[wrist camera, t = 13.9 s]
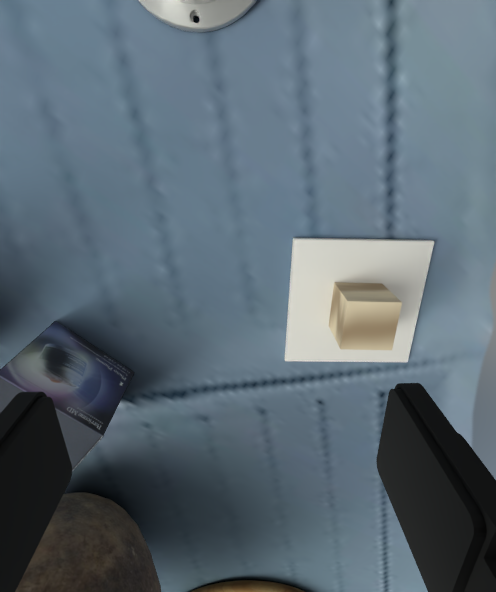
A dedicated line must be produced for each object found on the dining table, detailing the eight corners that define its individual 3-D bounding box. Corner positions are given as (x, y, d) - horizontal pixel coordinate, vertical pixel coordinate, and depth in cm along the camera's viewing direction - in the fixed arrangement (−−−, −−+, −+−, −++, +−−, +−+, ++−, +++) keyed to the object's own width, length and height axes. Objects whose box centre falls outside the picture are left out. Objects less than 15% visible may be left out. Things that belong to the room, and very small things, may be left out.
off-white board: (293, 237, 36) (293, 239, 35) (431, 240, 36) (434, 241, 35) (284, 358, 41) (285, 361, 40) (405, 359, 41) (407, 362, 41)
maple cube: (334, 282, 37) (347, 301, 32) (382, 283, 37) (402, 302, 32) (328, 325, 39) (340, 349, 34) (374, 326, 39) (392, 350, 34)
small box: (138, 369, 41) (106, 437, 32) (108, 405, 43) (69, 479, 33) (56, 317, 39) (-7, 373, 29) (27, 356, 40) (-41, 422, 31)
